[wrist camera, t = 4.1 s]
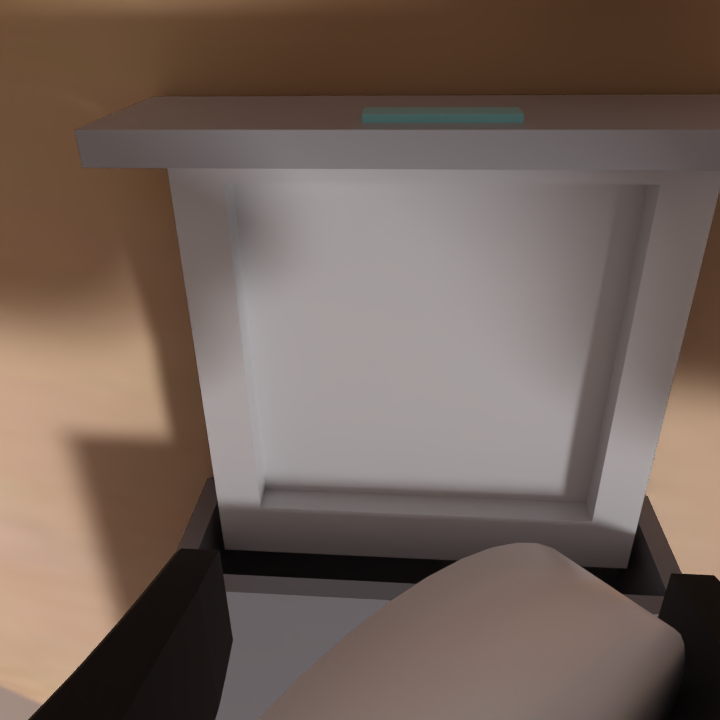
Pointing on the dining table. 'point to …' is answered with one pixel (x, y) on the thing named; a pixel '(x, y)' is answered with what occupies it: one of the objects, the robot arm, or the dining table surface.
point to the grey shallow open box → (432, 308)
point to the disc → (498, 650)
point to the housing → (347, 600)
